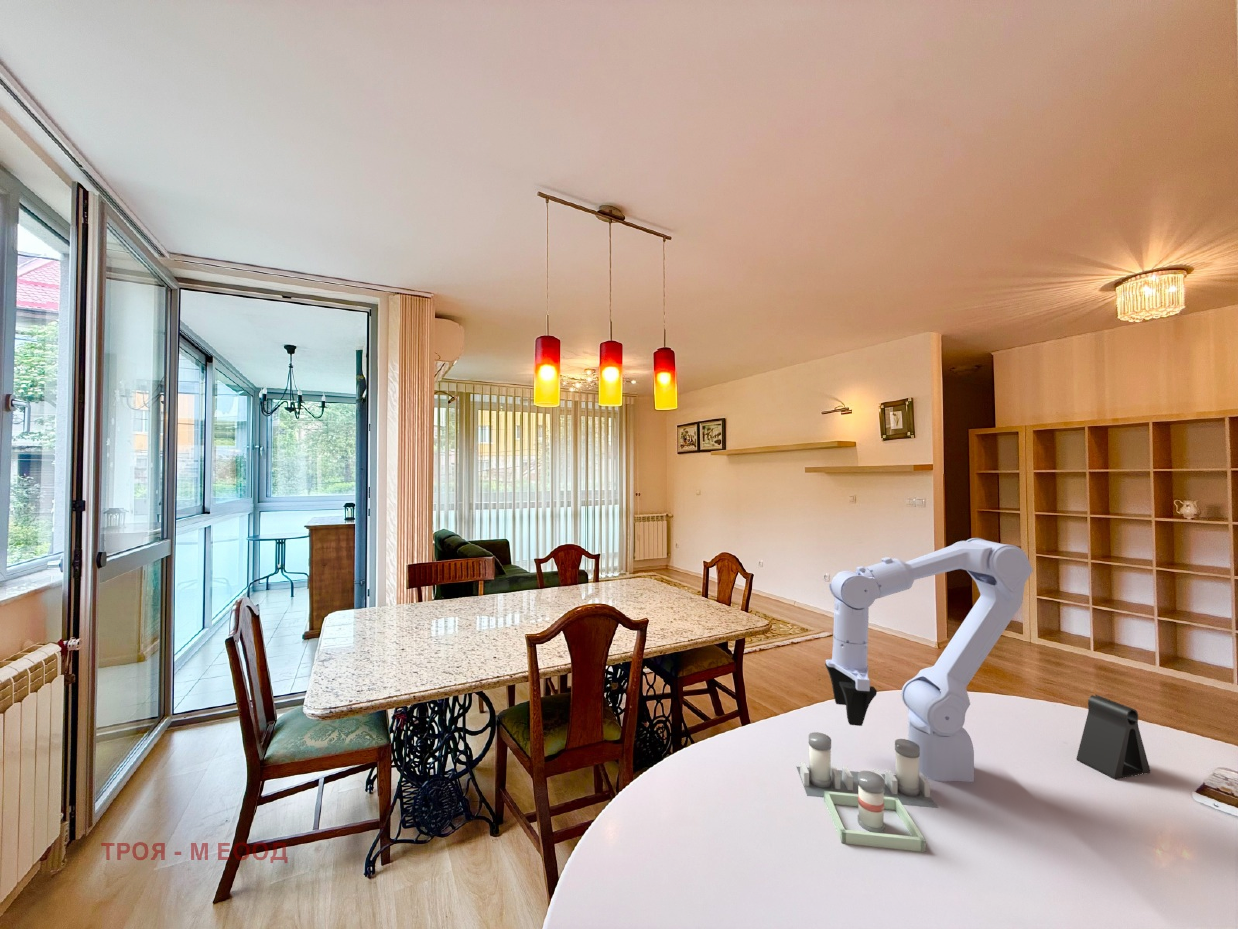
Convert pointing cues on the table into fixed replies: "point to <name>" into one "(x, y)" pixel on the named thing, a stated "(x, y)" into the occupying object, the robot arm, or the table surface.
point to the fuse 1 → (820, 760)
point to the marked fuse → (871, 801)
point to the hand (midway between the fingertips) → (848, 713)
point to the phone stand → (1112, 740)
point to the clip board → (849, 784)
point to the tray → (870, 838)
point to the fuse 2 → (907, 767)
